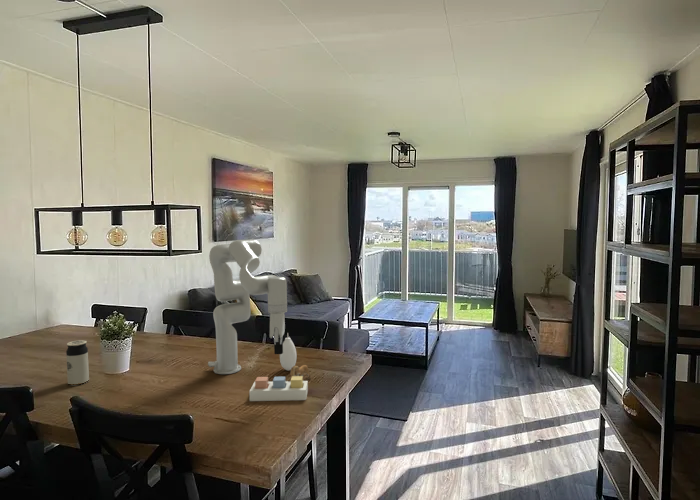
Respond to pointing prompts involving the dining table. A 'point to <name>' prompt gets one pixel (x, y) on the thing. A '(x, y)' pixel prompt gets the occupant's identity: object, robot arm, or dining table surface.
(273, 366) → the dining table surface
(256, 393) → the button board
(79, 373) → the travel mug
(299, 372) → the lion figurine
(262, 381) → the terracotta button
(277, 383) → the blue button
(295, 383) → the ochre button
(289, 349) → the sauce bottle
